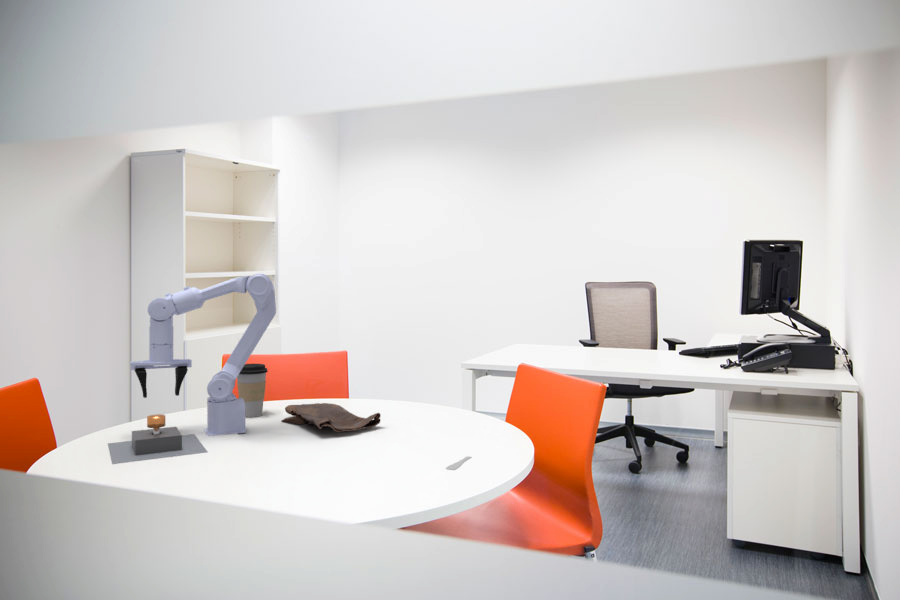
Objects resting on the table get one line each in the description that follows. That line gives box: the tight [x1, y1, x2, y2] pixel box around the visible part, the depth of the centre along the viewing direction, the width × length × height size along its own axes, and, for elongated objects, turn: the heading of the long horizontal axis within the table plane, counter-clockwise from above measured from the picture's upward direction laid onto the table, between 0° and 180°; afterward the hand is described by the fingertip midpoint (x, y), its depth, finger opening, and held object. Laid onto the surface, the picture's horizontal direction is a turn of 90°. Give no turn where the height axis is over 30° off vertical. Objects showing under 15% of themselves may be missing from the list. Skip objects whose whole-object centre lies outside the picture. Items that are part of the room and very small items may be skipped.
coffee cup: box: [236, 363, 268, 418], centre depth 196 cm, size 9×9×15 cm
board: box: [107, 433, 208, 465], centre depth 157 cm, size 20×20×1 cm
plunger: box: [146, 413, 166, 434], centre depth 157 cm, size 4×4×7 cm
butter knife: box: [445, 455, 472, 471], centre depth 153 cm, size 1×24×3 cm
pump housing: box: [131, 426, 183, 455], centre depth 157 cm, size 10×10×4 cm
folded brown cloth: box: [281, 402, 381, 433], centre depth 185 cm, size 32×20×5 cm, turn 36°
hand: (161, 396), depth 170 cm, fingers open, 7 cm apart
